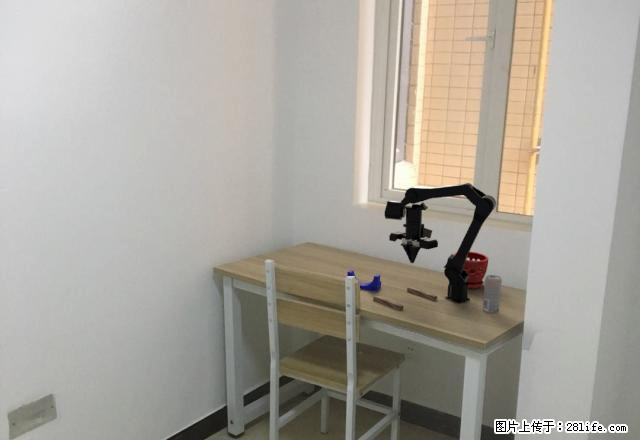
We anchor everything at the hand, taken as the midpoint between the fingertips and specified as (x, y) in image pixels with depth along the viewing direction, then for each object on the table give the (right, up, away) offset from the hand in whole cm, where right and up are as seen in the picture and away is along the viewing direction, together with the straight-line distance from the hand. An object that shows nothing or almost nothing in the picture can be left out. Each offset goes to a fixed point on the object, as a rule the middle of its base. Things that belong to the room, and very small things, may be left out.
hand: (412, 262), depth 218 cm
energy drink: (+24, -15, -15) cm, 33 cm away
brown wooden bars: (-3, -13, -7) cm, 15 cm away
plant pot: (+24, -10, +12) cm, 28 cm away
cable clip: (-17, -10, +6) cm, 21 cm away
